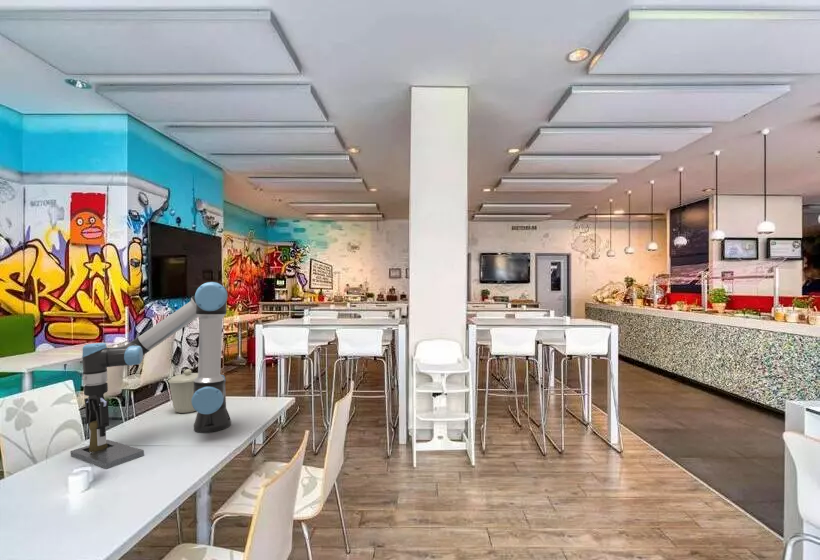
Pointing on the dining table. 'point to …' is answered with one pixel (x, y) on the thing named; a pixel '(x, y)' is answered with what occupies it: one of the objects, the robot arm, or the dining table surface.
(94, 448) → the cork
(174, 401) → the canister
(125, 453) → the jig
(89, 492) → the dining table surface
